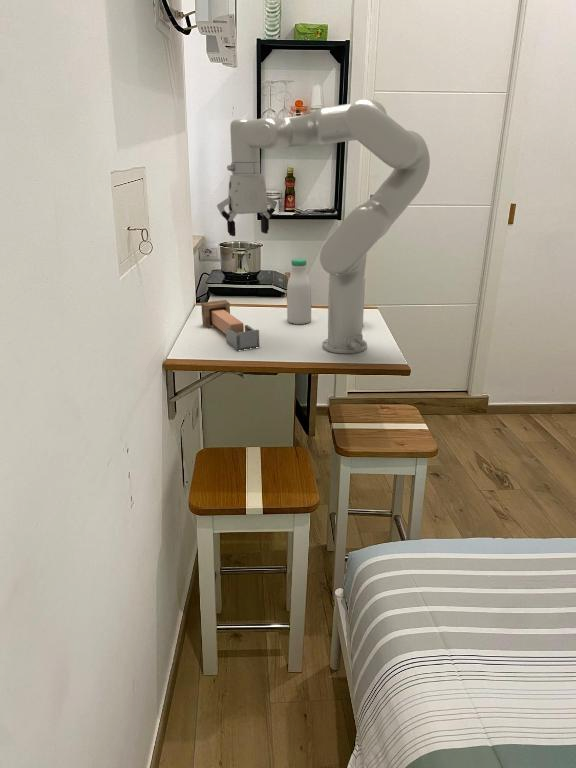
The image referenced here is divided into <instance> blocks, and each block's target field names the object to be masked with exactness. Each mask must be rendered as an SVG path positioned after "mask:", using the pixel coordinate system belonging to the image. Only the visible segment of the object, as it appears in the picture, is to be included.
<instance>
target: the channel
mask: <svg viewBox="0 0 576 768" xmlns="http://www.w3.org/2000/svg"><path fill="white" fill-rule="evenodd" d="M225 335H226V337H225V338H226V343H227V344H228V345H229V346H230V347H232V348H233V349H234V348H235V349H234V350H235V351H237V352H240V351H239V350H243V351H245V350H244V349H249V350H251V349H250V348H255V349H257V348H256V347H260V330H259V329H254V328H253V327H252V326H250V325H248V324H244V332H239V333H235V332H234V331H233V330H231V329H230V328H226V334H225Z"/></svg>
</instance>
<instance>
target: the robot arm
mask: <svg viewBox="0 0 576 768" xmlns="http://www.w3.org/2000/svg"><path fill="white" fill-rule="evenodd" d="M229 130H230V146H231V147H230V149H231V163H230V164H229V165H227V167H226V170H227V171H228V172H229V171H230V172H231V173H232V174H230V175H229V181H228V190H227V191H228V192H227V193H228V196H227V198H226V199H224V200H222V201H221V202H219V203H217V205H216V207H217V209H218V211H219V212H220V213H219V214H220V215H221V217H223V218H224V219H225V221H227V223H226V225H227V232H228V235H229V236H231V237H236V222H235V221H234V219H235V218H236V216H237V215H244V214H245V215H247V214H259V215H260V216H261V217H260V232H261V233H263V234H268V233H269V232H268V231H269V229H270V221H269V220H270V218H271V216H272V215H273V214H274V213H275V209H276V208H277V204H278V202H277V200H274V199H272V198H271V197H269V196H267V195H268V193H267V186H266V180H265V177H264V174H263V173H261V155H260V153H261V152H260V149H263V150H275V149H288V148H295V147H301V146H302V147H303V146H310V145H322V146H323V145H328V144H329V145H330V144H336V143H343V142H350V141H358V142H359V143H360V144H361V145H362V146H364V148H366V149H367V150H368V151H370V152H371V153H372V154H373V155H374V156H375V157H377V159H379V160H381V161H382V162H383V163H384V164H386V165H387V166H389V167H390V168H393V170H392V172H391V173H390V175H389V176H388V177H387V178H385V180H384V181H383V182H382V184H381V185H380V186H379V188H378V189H377V190H376V191H375V193H373V195H372V196H371V197H370V198H368V200H366V202H363V203H362V204H360V205H357V206H356V207H355V208H354V209H352V211H350V213H349V214H348V215H347V216H346V217H345V218H344V220H342V222H341V223H340V224H339V226H338V227H337V228H336V229H335V230H334V232H333V233H332V234H331V235H330V236H329V238H328V239H327V240H326V241H325V243H324V244H323V246H322V247H321V250H320V253H319V262H320V265H321V267H322V269H323V270H324V271H325V272H326V273H328V274H329V277H328V295H327V296H328V299H327V301H328V304H327V305H328V311H327V313H328V314H327V338H325V339H324V340H323V341H322V343H321V345H322V346H321V347H322V348H323V349H324V350H325V351H327V352H330V353H333V354H334V353H335V354H342V355H343V354H346V355H347V354H356V353H360V352H363V351H365V350H366V349H367V348H368V343H367V341H366V340H364V339H363V337H364V336H363V328H362V316H363V317H364V313H363V293H364V278H365V271H366V265H367V256H368V255H367V253H368V252H369V251H370V250H371V249H372V248H373V246H374V245H375V244H376V243H377V242H378V241H379V240H381V238H383V237H384V236H385V235H386V234H387V232H388V231H389V230H390V228H391V227H392V225H393V224H394V223H395V221H397V219H399V217H400V216H401V215H402V214H403V213H404V211H405V210H406V209H407V208H408V207H409V205H410V204H411V203H412V202H413V200H415V198H416V196H418V194H419V193H420V192H421V190H422V188H423V187H424V185H425V183H426V180H427V179H428V175H429V172H430V165H431V159H430V158H431V157H430V153H429V148H428V145H427V143H426V141H425V140H424V138H423V137H422V136H421V135H420V134H419V133H418V132H416V131H413V130H407V129H405V128H404V127H403V126H402V125H401V124H399V123H398V122H397V121H396V120H394V119H393V118H392V117H390V116H389V115H388V114H387V111H386V108H385V107H384V105H383V104H382V103H380V102H379V101H378V100H373V99H368V98H361V99H358V100H356V101H354V102H351V103H345V104H338V105H332V106H330V105H329V106H324V107H319V108H318V109H316V110H315V111H313V112H311V113H308V114H307V113H306V114H303V115H302V114H301V115H296V116H295V115H294V116H288V117H261V118H257V119H252V118H248V119H247V118H241V119H238V118H237V119H234V120H232V121H231V122H230V129H229ZM268 204H269V208H268ZM227 206H228V212H227V211H226V209H225V207H227ZM364 294H365V293H364Z"/></svg>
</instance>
